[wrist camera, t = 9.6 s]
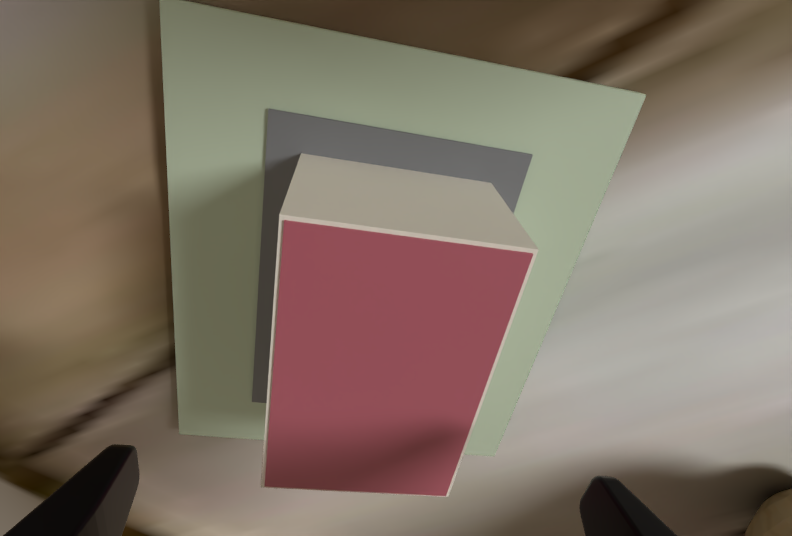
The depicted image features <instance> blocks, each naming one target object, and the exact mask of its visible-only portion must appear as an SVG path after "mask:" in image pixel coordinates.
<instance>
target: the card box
mask: <svg viewBox="0 0 792 536" xmlns="http://www.w3.org/2000/svg"><path fill="white" fill-rule="evenodd" d="M538 250H539V249H538V248H537V246H536V245H535V244H534V242H533V241H532V239H531V238H530V237H529V235H528V234H527V232H526V231H525V230H524V228H523V227H522V225H521V224H520V223H519V221H518V220H517V218H516V217H515V216H514V214H513V213H512V211H511V210H510V209H509V207H508V206H507V204H506V203H505V201H504V200H503V199H502V197H501V196H500V194H499V193H498V192H497V190H496V189H495V187H494V186H493V185H492V183H489V182H483V181H476V180H470V179H463V178H457V177H451V176H444V175H438V174H431V173H425V172H418V171H412V170H406V169H399V168H393V167H386V166H380V165H373V164H367V163H361V162H354V161H348V160H341V159H335V158H329V157H322V156H316V155H309V154H303V153H301V155H300V158H299V161H298V164H297V166H296V169H295V172H294V175H293V178H292V180H291V183H290V186H289V189H288V192H287V194H286V197H285V200H284V203H283V206H282V208H281V211H280V214H279V227H278V242H277V257H276V271H275V286H274V301H273V315H272V330H271V345H270V359H269V374H268V389H267V403H266V418H265V433H264V448H263V462H262V477H261V487H266V488H285V489H304V490H323V491H342V492H361V493H380V494H399V495H419V496H438V497H448V496H449V493H450V491H451V488H452V485H453V482H454V480H455V477H456V474H457V471H458V469H459V466H460V463H461V461H462V458H463V455H464V452H465V450H466V447H467V444H468V441H469V439H470V436H471V433H472V430H473V428H474V425H475V422H476V420H477V417H478V414H479V411H480V409H481V406H482V403H483V400H484V398H485V395H486V392H487V389H488V387H489V384H490V381H491V379H492V376H493V373H494V370H495V368H496V365H497V362H498V359H499V357H500V354H501V351H502V349H503V346H504V343H505V340H506V338H507V335H508V332H509V329H510V327H511V324H512V321H513V318H514V316H515V313H516V310H517V308H518V305H519V302H520V299H521V297H522V294H523V291H524V288H525V286H526V283H527V280H528V277H529V275H530V272H531V269H532V267H533V264H534V261H535V258H536V256H537V253H538Z"/></svg>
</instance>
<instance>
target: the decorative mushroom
mask: <svg viewBox="0 0 792 536" xmlns="http://www.w3.org/2000/svg"><path fill="white" fill-rule="evenodd" d="M745 536H792V489H788V490H784V491H781V492H779V493H777V494H775V495H772V496H771V497H770V498H768V499H767V500H765V501H764V503H763V504H762V505H761V506H760V508H759V509H758V511H757V512H756V514H755V516H754V517H753V519H752V521H751V522H750V524H749V526H748V528H747V530H746V532H745Z"/></svg>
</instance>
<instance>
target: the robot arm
mask: <svg viewBox="0 0 792 536" xmlns="http://www.w3.org/2000/svg"><path fill="white" fill-rule="evenodd" d="M138 483H139V467H138V458H137V450H136V448H135V447H134V446H131V445H111V446H109V447H107V448H106V449H104V450H103V451H102V452H101V453H100V454H99V455H97V456H96V457H95V458H94V459H93V460H92V461H90V462H89V463H88V464H87V465H86V466H84V467H83V468H82V469H81V470H80V471H79V472H77V473H76V474H75V475H74V476H73V477H72V478H70V479H69V480H68V481H67V482H66V483H64V484H63V485H62V486H61V487H60V488H59V489H57V490H56V491H55V492H54V493H53V494H52V495H50V496H49V497H48V498H47V499H46V500H44V501H43V502H42V503H41V504H40V505H39V506H37V507H36V508H35V509H34V510H33V511H32V512H30V513H29V514H28V515H27V516H26V517H24V518H23V519H22V520H21V521H20V522H19V523H17V524H16V525H15V526H14V527H13V528H12V529H11V530H9V531H8V532H7V533H6V534H5V535H3V536H122V533H123V530H124V527H125V524H126V521H127V518H128V515H129V512H130V509H131V506H132V503H133V500H134V497H135V494H136V491H137V487H138ZM580 514H581V518H582V523H583V527H584V531H585V535H586V536H677V535H676V534H675V533H674V532H673V531H672V530H671V529H670V528H668V527H667V526H666V525H665V524H664V523H663V522H662V521H661V520H660V519H659V518H658V517H657V516H656V515H655V514H654V513H653V512H652V511H651V510H649V509H648V508H647V507H646V506H645V505H644V504H643V503H642V502H641V501H640V500H639V499H638V498H637V497H636V496H635V495H634V494H633V493H632V492H630V491H629V490H628V489H627V488H626V487H625V486H624V485H623V484H622V483H621V482H620V481H619V480H617V479H616V478H614V477H606V476H596V477H594V478H593V479H592V481H591V483H590V484H589V486H588V488H587V489H586V491H585V493H584V495H583V496H582V498H581V501H580Z"/></svg>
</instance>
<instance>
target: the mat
mask: <svg viewBox="0 0 792 536" xmlns="http://www.w3.org/2000/svg"><path fill="white" fill-rule="evenodd" d="M159 3H160V25H161V47H162V69H163V91H164V113H165V135H166V157H167V179H168V201H169V223H170V245H171V267H172V289H173V311H174V333H175V355H176V377H177V398H178V420H179V434H183V435H197V436H211V437H225V438H239V439H254V440H264V433H265V418H266V403H267V389H268V374H269V359H270V345H271V330H272V315H273V301H274V286H275V271H276V257H277V242H278V227H279V214H280V211H281V208H282V206H283V203H284V200H285V197H286V194H287V192H288V189H289V186H290V183H291V180H292V178H293V175H294V172H295V169H296V166H297V164H298V161H299V158H300V155H301V153H303V154H309V155H316V156H322V157H329V158H335V159H341V160H348V161H354V162H361V163H367V164H373V165H380V166H386V167H393V168H399V169H406V170H412V171H418V172H425V173H431V174H438V175H444V176H451V177H457V178H463V179H470V180H476V181H483V182H489V183H492V185H493V186H494V187H495V189H496V190H497V192H498V193H499V194H500V196H501V197H502V199H503V200H504V201H505V203H506V204H507V206H508V207H509V209H510V210H511V211H512V213H513V214H514V216H515V217H516V218H517V220H518V221H519V223H520V224H521V225H522V227H523V228H524V230H525V231H526V232H527V234H528V235H529V237H530V238H531V239H532V241H533V242H534V244H535V245H536V246H537V248H538V249H539V250H538V253H537V256H536V258H535V261H534V264H533V267H532V269H531V272H530V275H529V277H528V280H527V283H526V286H525V288H524V291H523V294H522V297H521V299H520V302H519V305H518V308H517V310H516V313H515V316H514V318H513V321H512V324H511V327H510V329H509V332H508V335H507V338H506V340H505V343H504V346H503V349H502V351H501V354H500V357H499V359H498V362H497V365H496V368H495V370H494V373H493V376H492V379H491V381H490V384H489V387H488V389H487V392H486V395H485V398H484V400H483V403H482V406H481V409H480V411H479V414H478V417H477V420H476V422H475V425H474V428H473V430H472V433H471V436H470V439H469V441H468V444H467V447H466V450H465V452H464V454H465V455H480V456H495V453H496V451H497V449H498V446H499V444H500V441H501V439H502V437H503V434H504V432H505V430H506V427H507V425H508V422H509V420H510V418H511V415H512V413H513V411H514V408H515V406H516V403H517V401H518V399H519V396H520V394H521V392H522V389H523V387H524V384H525V382H526V380H527V377H528V375H529V373H530V370H531V368H532V365H533V363H534V361H535V358H536V356H537V354H538V351H539V349H540V346H541V344H542V342H543V339H544V337H545V335H546V332H547V330H548V327H549V325H550V323H551V320H552V318H553V316H554V313H555V311H556V308H557V306H558V304H559V301H560V299H561V297H562V294H563V292H564V289H565V287H566V285H567V282H568V280H569V278H570V275H571V273H572V270H573V268H574V266H575V263H576V261H577V259H578V256H579V254H580V251H581V249H582V247H583V244H584V242H585V240H586V237H587V235H588V232H589V230H590V228H591V225H592V223H593V221H594V218H595V216H596V213H597V211H598V209H599V206H600V204H601V202H602V199H603V197H604V194H605V192H606V190H607V187H608V185H609V183H610V180H611V178H612V175H613V173H614V171H615V168H616V166H617V164H618V161H619V159H620V156H621V154H622V152H623V149H624V147H625V145H626V142H627V140H628V137H629V135H630V133H631V130H632V128H633V126H634V123H635V121H636V118H637V116H638V114H639V111H640V109H641V107H642V104H643V102H644V99H645V97H646V95H645V94H642V93H640V92H635V91H630V90H625V89H620V88H616V87H611V86H606V85H601V84H596V83H591V82H586V81H581V80H576V79H571V78H566V77H561V76H556V75H551V74H546V73H541V72H536V71H531V70H527V69H522V68H517V67H512V66H507V65H502V64H497V63H492V62H487V61H482V60H477V59H472V58H467V57H462V56H457V55H452V54H447V53H442V52H438V51H433V50H428V49H423V48H418V47H413V46H408V45H403V44H398V43H393V42H388V41H383V40H378V39H373V38H368V37H363V36H358V35H353V34H349V33H344V32H339V31H334V30H329V29H324V28H319V27H314V26H309V25H304V24H299V23H294V22H289V21H284V20H279V19H274V18H269V17H264V16H260V15H255V14H250V13H245V12H240V11H235V10H230V9H225V8H220V7H215V6H210V5H205V4H200V3H195V2H190V1H185V0H159Z"/></svg>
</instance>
